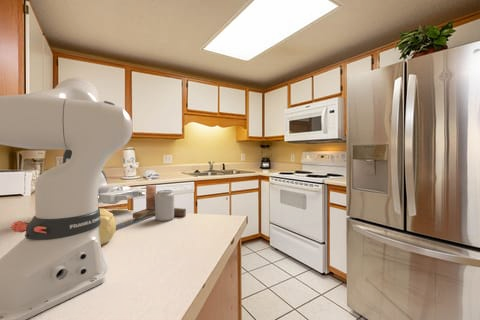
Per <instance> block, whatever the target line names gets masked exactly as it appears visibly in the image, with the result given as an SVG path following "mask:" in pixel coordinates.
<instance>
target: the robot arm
mask: <svg viewBox="0 0 480 320" xmlns="http://www.w3.org/2000/svg"><path fill="white" fill-rule="evenodd" d="M100 97H101V96H100V94H99V91H98V89H97V88H96V87H95V85H94V84H93V83H92V82H90V81H89V80H88V79H85V78H83V77H82V78H81V77H69V78H67V79H64V80H62V81H60V82H59V83H57V85H56V86H55V87H54V88H51V89H46V90H41V91H36V92H29V93H22V94H9V95H0V145H2V146H8V147H14V148H19V149H20V148H21V149H28V150H64V152H63V155H62V163H60V164H59V165H56V166H53V167H51V168H49V169H47V170H45V171H43V172H41V174H40V175H39V176H38V177H37V178H36V181H35V183H34V205H35V207H34V209H35V213H34V214H35V215H34V216H32V219H31V220H30V221H29V222H27V221H20V220H18V221H15V222H13V223H12V224H11V227H10V229H11V231H13V232H15V233H16V232H17V233H25V234H24V238H22V239H21V241H20V242H18V243H17V244H16V245H15V246H13V247H12V248H11V249H10V250H9V251H8V252H6V253H5V254H3V256H2V257H0V320H27V319H30V318H32V317H34V316H36V315H37V314H38V315H39V314H40V313H42V312H44V311H46V310H48V309H51V308H53V307H55V306H57V305H59V304H61V303H63V302H65V301H67V300H70V299H72V298H73V297H76V296H77V295H80V294H82V293H84V292H86V291H89V290H90V289H92V288H94V287H97V286H99V285H100V284H103V283H104V282H105V280H106V279H105V273H106V271H107V268H108V266H107V263H106V261H105V257H104V255H103V250H102V245H101V244H100V236H99V225H100V219H101V218H100V209H101V208H99V204H100V203H101V204H108V205H117V204H118V203H119V202H121V201H128V200H130V199H134V198H139V197H145V196H146V191H143V188H141V187H134V186H129V185H118V184H108V179H107V175H106V173H105V171H104V170H103V169H104V167H105V165H107V162H108V161H109V159H110V158H111V157H112V156H113V155H114V154H115V153H116V152H118V151H119V150H120V149H122V148H124V146H126V145H127V144H128V142H129V141H130V140H131V139H132V138H131V137H132V135H133V132H134V131H133V129H134V128H133V127H134V126H133V125H134V124H133V121H132V117H131V116H130V114H129V113H128V112H127V111H126V109H125V108H124V107H122V106H118V105H116V104H115V103H114V102H111V101H108V100H104V101H103V100H101V98H100Z"/></svg>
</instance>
